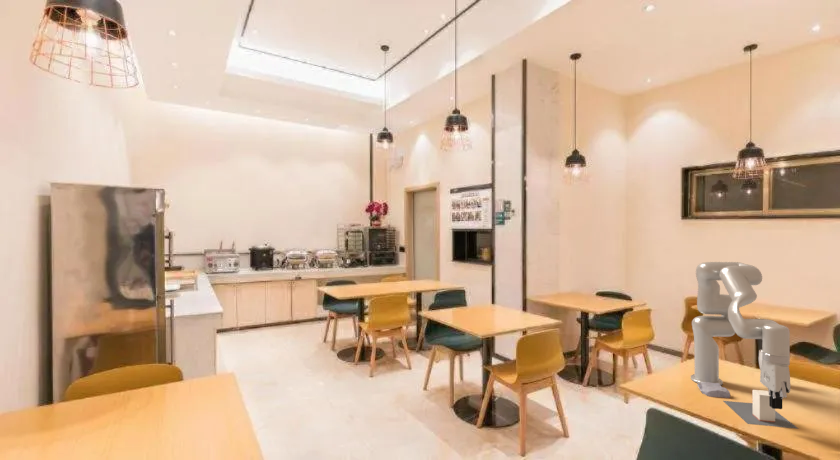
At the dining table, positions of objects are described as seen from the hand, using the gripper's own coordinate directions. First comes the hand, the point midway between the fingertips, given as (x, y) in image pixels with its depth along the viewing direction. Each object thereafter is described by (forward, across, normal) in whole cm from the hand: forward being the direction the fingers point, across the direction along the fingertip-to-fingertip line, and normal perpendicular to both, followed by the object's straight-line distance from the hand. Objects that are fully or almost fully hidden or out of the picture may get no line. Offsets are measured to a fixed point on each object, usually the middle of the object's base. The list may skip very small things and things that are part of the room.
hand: (775, 407), depth 147 cm
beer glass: (+9, -50, +22) cm, 55 cm away
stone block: (+9, -31, -9) cm, 33 cm away
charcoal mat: (+9, -12, 0) cm, 15 cm away
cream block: (+8, -8, 0) cm, 11 cm away
